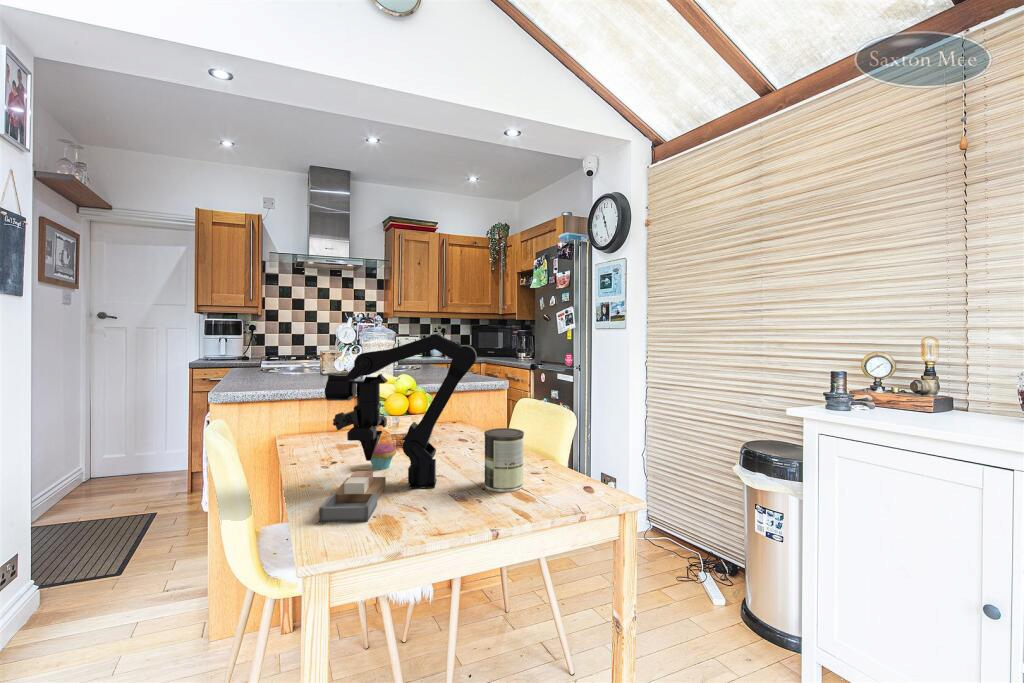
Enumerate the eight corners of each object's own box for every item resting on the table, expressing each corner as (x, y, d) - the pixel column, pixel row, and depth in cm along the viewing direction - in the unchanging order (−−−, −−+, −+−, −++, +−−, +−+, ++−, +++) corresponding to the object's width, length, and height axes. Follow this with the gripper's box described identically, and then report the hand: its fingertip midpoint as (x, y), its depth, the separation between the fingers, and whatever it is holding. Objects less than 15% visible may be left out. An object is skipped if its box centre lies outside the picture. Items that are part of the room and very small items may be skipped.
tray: (377, 505, 112) (377, 492, 112) (367, 521, 102) (367, 507, 102) (332, 505, 111) (332, 492, 111) (319, 522, 101) (318, 508, 101)
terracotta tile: (373, 480, 121) (373, 471, 121) (369, 486, 117) (369, 476, 117) (354, 481, 121) (354, 471, 121) (350, 487, 117) (350, 476, 117)
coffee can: (476, 487, 124) (476, 433, 124) (497, 477, 133) (498, 426, 133) (510, 495, 119) (510, 438, 119) (530, 483, 128) (531, 430, 128)
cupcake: (360, 470, 139) (360, 428, 139) (375, 462, 148) (375, 423, 147) (387, 472, 137) (387, 430, 137) (401, 464, 146) (401, 424, 145)
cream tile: (368, 487, 116) (368, 477, 116) (364, 493, 112) (364, 482, 112) (349, 487, 116) (349, 477, 116) (344, 494, 112) (344, 483, 112)
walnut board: (385, 486, 125) (385, 476, 125) (375, 504, 112) (375, 493, 112) (348, 487, 124) (348, 477, 124) (333, 505, 111) (333, 494, 111)
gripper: (346, 395, 134) (346, 451, 135) (325, 406, 116) (325, 471, 116) (387, 395, 135) (387, 451, 135) (372, 406, 116) (373, 470, 117)
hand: (368, 460), depth 126 cm, fingers closed
